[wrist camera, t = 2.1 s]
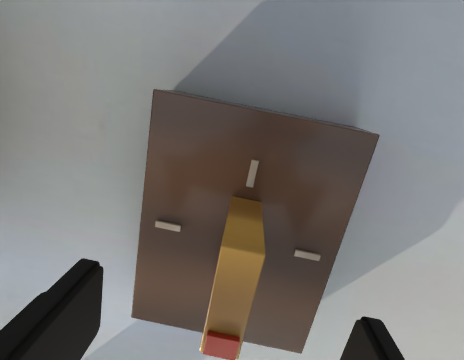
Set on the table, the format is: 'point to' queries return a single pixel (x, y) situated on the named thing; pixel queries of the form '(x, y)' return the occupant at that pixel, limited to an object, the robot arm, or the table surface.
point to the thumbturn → (235, 280)
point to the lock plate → (252, 188)
